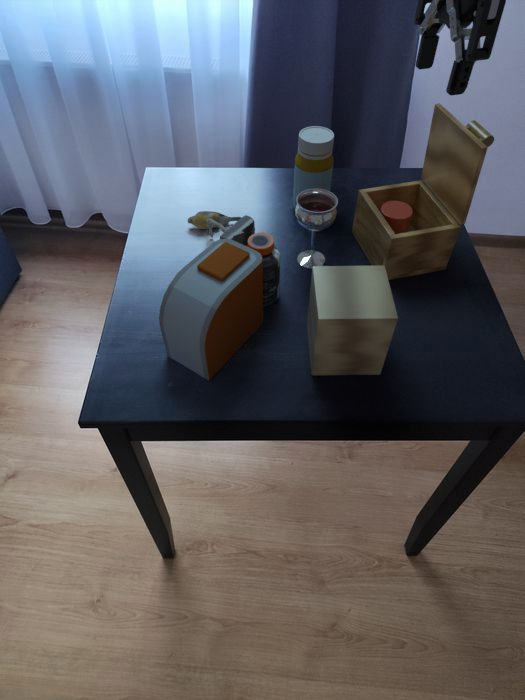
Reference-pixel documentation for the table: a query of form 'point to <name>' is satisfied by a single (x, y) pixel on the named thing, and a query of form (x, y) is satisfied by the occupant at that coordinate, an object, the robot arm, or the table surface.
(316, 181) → the bottle
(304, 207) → the wineglass
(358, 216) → the box
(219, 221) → the decorative sculpture
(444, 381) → the table surface
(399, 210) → the spice tin
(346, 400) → the table surface
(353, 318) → the block
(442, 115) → the lid
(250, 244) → the pill bottle
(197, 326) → the alarm clock
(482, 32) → the robot arm
